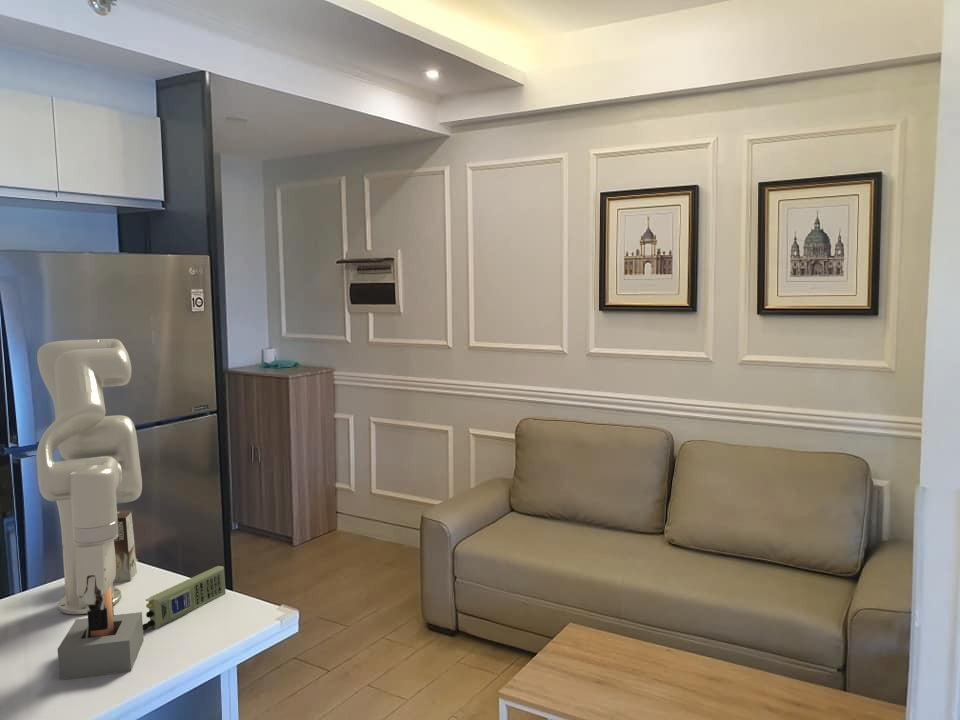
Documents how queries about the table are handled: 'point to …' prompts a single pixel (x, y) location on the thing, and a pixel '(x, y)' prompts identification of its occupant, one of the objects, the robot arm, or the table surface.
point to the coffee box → (125, 547)
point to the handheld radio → (185, 597)
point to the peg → (108, 605)
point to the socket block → (100, 648)
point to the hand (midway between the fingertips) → (101, 623)
